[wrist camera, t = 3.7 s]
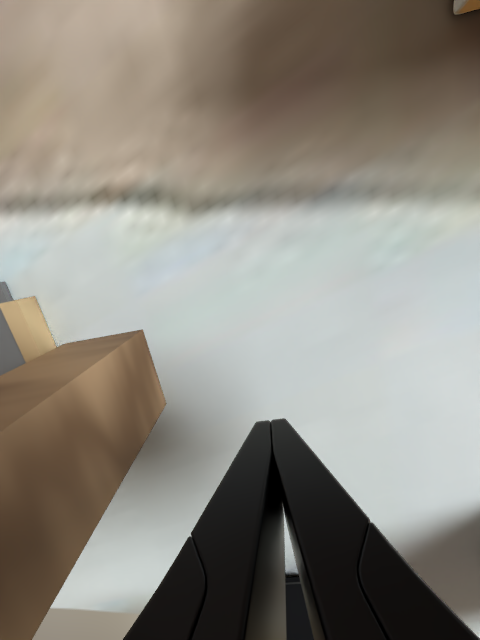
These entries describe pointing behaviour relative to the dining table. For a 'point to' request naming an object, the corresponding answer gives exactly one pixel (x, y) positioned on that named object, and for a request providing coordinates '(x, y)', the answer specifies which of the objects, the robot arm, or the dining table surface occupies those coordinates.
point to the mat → (8, 338)
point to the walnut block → (65, 461)
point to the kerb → (28, 327)
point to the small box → (465, 6)
